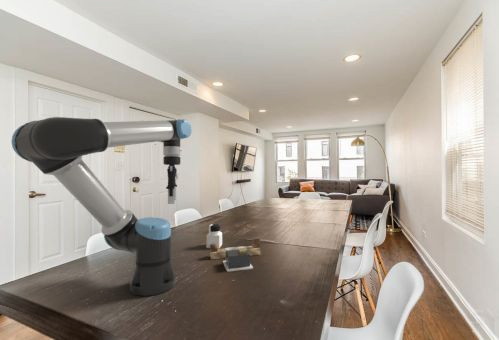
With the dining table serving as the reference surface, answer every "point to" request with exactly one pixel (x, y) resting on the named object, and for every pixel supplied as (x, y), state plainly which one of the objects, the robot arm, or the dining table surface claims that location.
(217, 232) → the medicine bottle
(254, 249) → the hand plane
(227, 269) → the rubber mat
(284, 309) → the dining table surface
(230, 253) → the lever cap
